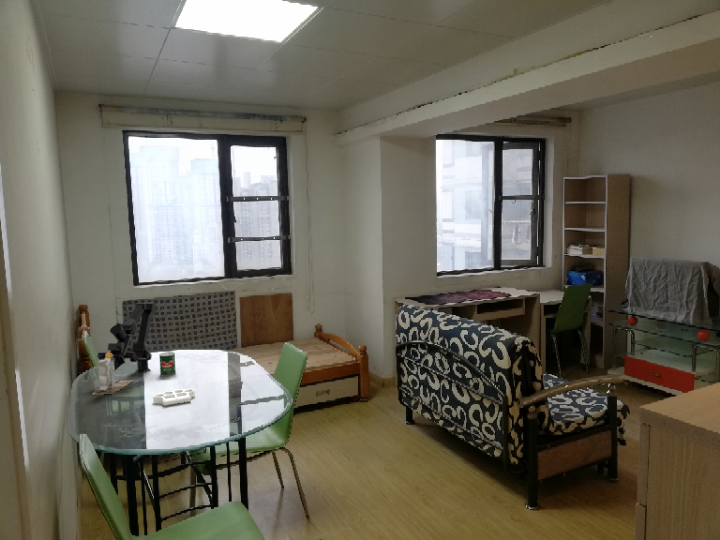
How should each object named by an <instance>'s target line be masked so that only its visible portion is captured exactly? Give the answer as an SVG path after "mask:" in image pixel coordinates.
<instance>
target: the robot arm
mask: <svg viewBox="0 0 720 540" xmlns="http://www.w3.org/2000/svg"><path fill="white" fill-rule="evenodd" d="M156 310H157V305H156V304H155V302H137V303H135V307H134V308H133V311H132V312H131V314H130V316H129V317H128V318H127V319H126V320H124V321H123V322H122V323H121V322H120V323H119V322H117V323H116V324H115V325H113V326H112V327H110V329H109V333H110V334H111V335H112V337H113V338H114V339H115V340H116V342H115V343H113V342H112V343H110V342H109V343H108V345H107V350H108V351H109V352H111V353H112V355H113V356H112V357H114V369H115V371H116V370H118V369H119V368H120V367H121V366H123V364H126V360H128V359H129V361H130V362H131V363H136V369H135V372H137V373H143V372H149V371H151V369H150V368H149V361H150V360H152V359H153V358H152V356H153V355H152V353H151V351H150V349H149V345H148V343H147V342H148V336H149V330H150V325H151V319H152V318H153V317H154V315H156ZM139 320H140V324H139V325H140V326H139V330H138V336H137V341H136V342H135V343H133V344H132V348H131V351H129V349H128V347H129V344H130V343H132V342H133V339H132V337H131V336H133V335H135V334H136V333H137V329H138V327H137V326H138V325H137V324H138V323H139ZM106 353H108V352H107V351H100V352H98V353H97V355H96V358H97V359H98V361H100V360H105V358H106V357H105V355H106Z"/></svg>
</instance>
